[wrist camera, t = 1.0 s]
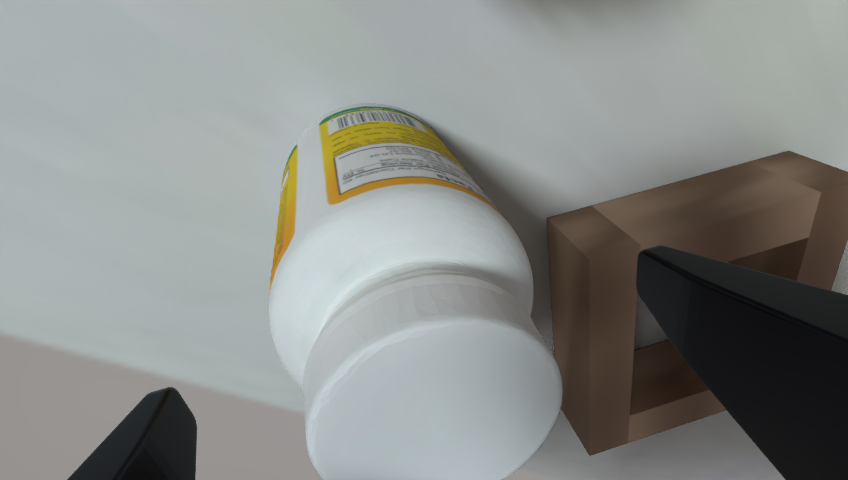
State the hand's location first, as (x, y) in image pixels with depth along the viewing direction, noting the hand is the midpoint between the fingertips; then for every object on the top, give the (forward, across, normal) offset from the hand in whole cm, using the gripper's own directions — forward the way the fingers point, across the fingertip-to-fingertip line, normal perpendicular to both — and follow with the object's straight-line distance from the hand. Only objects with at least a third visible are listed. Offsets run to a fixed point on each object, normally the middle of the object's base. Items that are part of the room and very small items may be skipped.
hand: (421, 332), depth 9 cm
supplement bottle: (+8, 0, 0) cm, 8 cm away
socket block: (+7, -11, +8) cm, 15 cm away
